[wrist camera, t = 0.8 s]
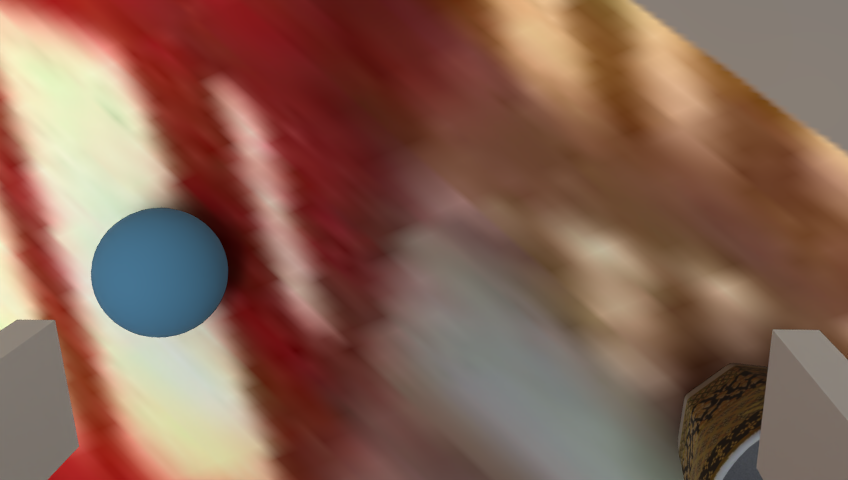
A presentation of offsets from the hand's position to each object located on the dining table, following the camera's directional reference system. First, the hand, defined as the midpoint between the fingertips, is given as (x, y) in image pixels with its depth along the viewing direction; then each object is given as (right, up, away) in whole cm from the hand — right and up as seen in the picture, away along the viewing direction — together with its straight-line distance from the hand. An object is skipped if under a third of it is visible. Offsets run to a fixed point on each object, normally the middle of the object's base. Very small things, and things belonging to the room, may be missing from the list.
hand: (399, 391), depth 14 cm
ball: (-12, +1, +21) cm, 24 cm away
